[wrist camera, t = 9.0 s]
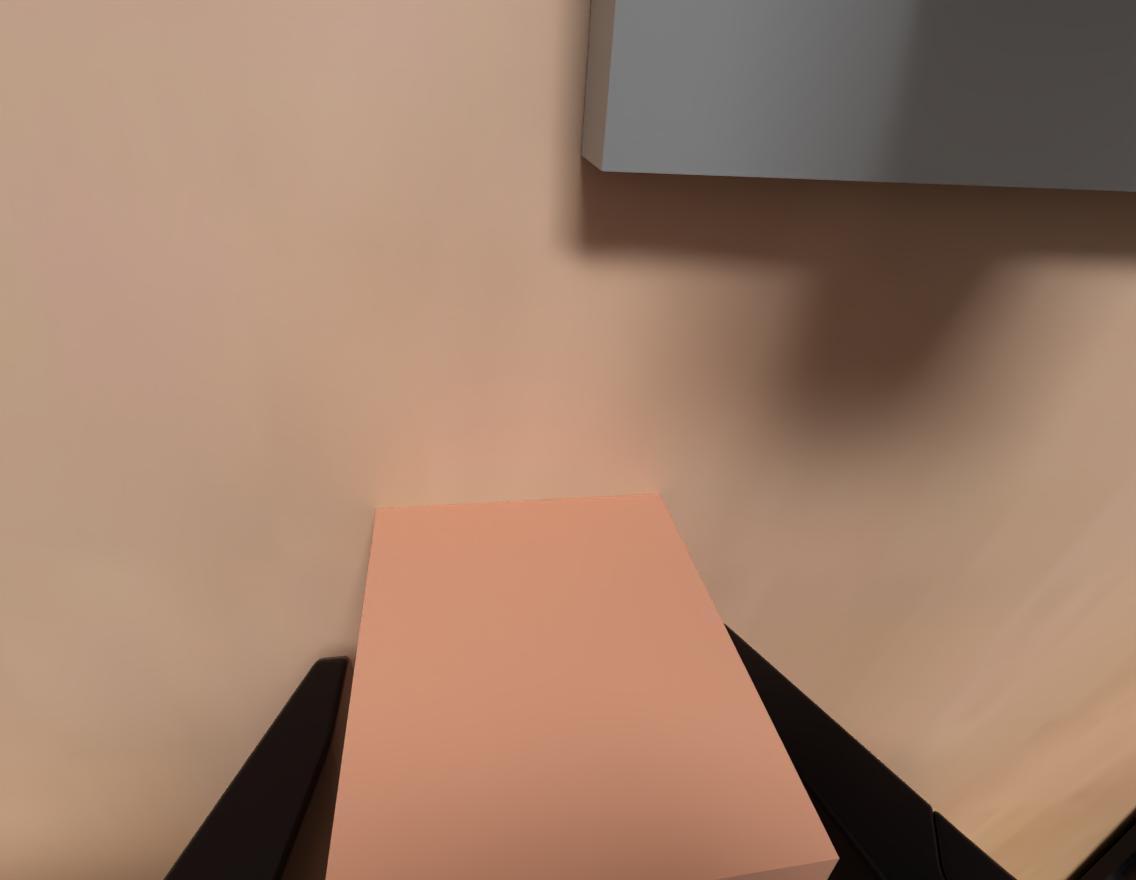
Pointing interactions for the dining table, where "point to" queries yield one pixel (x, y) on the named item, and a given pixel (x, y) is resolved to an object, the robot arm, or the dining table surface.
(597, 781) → the terracotta block
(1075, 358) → the dining table surface
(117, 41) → the dining table surface
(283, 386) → the dining table surface
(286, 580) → the dining table surface
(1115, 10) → the plate
